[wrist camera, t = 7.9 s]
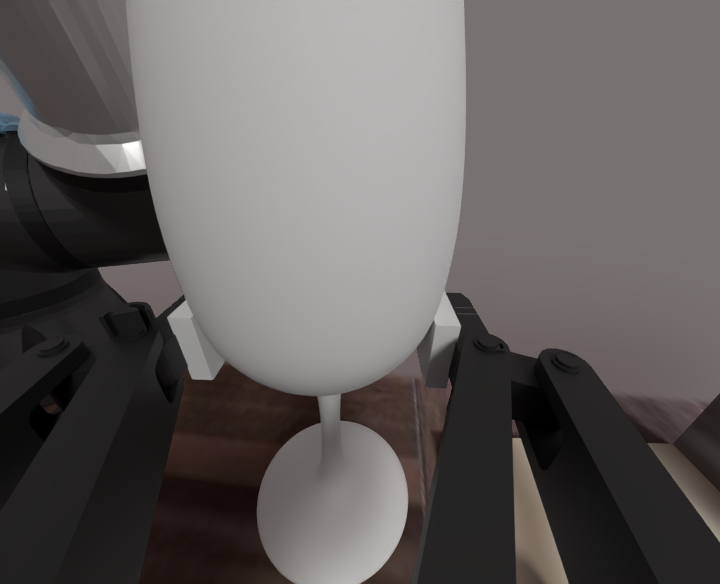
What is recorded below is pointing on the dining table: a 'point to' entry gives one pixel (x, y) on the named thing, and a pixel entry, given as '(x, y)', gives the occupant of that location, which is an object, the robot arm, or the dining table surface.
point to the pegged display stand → (681, 459)
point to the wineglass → (309, 225)
